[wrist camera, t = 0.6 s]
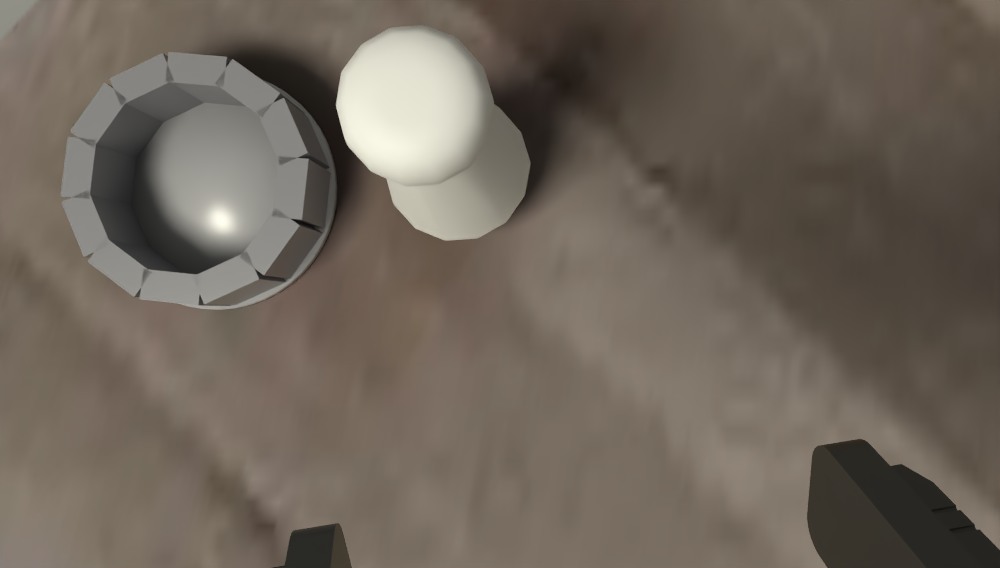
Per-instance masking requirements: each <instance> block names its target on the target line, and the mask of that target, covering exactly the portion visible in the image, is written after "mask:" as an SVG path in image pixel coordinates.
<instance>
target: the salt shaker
mask: <svg viewBox="0 0 1000 568" xmlns="http://www.w3.org/2000/svg"><path fill="white" fill-rule="evenodd" d="M336 108H337V112H338V116H339V120H340V123H341V127H342V131H343V135H344V138H345V141H346V143H347V146H348V147H349V148H350V149H351V150H352V151H353V152H354V153H355V154H356V156H357V157H358V158H359V159H360V160H361V161H362V162H363V163H364V164H365V165H366V167H367V168H368V169H369V170H370V171H372V172H374V173H375V174H377V175H380V176H382V177H385V178H387V182H388V186H389V189H390V193H391V197H392V201H393V204H394V205H395V206H396V207H397V209H398V210H399V211H400V212H401V213H402V214H403V215H404V216H405V218H406V219H407V220H408V221H409V222H410V223H411V224H412V225H413V226H414V228H416V229H418V230H421V231H423V232H425V233H428V234H430V235H433V236H435V237H438V238H440V239H442V240H461V239H476V238H479V237H481V236H483V235H484V234H486V233H488V232H490V231H492V230H493V229H495V228H497V227H499V226H501V225H502V224H504V223H506V222H507V221H508V219H509V218H510V216H511V215H512V213H513V212H514V210H515V209H516V208H517V206H518V205H519V203H520V202H521V200H522V199H523V198H524V196H525V192H526V186H527V181H528V175H529V170H530V164H531V162H530V159H529V156H528V153H527V150H526V146H525V143H524V140H523V137H522V134H521V132H520V131H519V129H518V128H517V127H516V126H515V125H514V124H513V123H512V121H511V120H510V119H509V118H508V117H507V116H506V115H505V113H504V112H503V111H502V110H501V109H500V108H499V107H498V106H496V105H495V104H494V100H493V96H492V93H491V90H490V86H489V83H488V80H487V77H486V73H485V70H484V67H483V66H482V65H481V64H480V63H479V62H478V61H477V60H476V58H475V57H474V56H473V55H472V54H471V53H470V52H469V51H468V49H467V48H466V47H465V46H464V45H463V44H462V43H461V42H460V41H459V40H458V39H457V38H456V37H454V36H452V35H449V34H446V33H444V32H441V31H438V30H436V29H433V28H430V27H428V26H425V25H419V26H405V27H390V28H389V29H387V30H385V31H384V32H382V33H380V34H379V35H377V36H375V37H373V38H372V39H370V40H368V41H367V42H365V43H363V44H362V45H361V46H360V47H359V48H358V50H357V51H356V53H355V54H354V55H353V57H352V58H351V60H350V61H349V62H348V64H347V65H346V66H345V68H344V69H343V71H342V72H341V77H340V83H339V89H338V95H337V101H336Z"/></svg>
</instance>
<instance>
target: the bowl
mask: <svg viewBox="0 0 1000 568" xmlns="http://www.w3.org/2000/svg"><path fill="white" fill-rule="evenodd" d="M109 79H110V81H111V84H112V86H111V85H109V84H107V83H104V84H103V86H102V87H101V88H100V90H99V91H98V93H97V94H96V95H95V97H94V98H93V100H92V101H91V102H90V104H89V105H88V107H87V108H86V109H85V111H84V112H83V114H82V115H81V116H80V118H79V119H78V121H77V122H76V123H75V125H74V126H73V128H72V129H71V130H70V132H72V133H73V134H74V135H76V136H77V137H78V138H75V137H68V139H67V147H66V156H65V164H64V172H63V180H62V189H61V196H62V197H66V198H69V199H67V200H65V201H63V202H61V203H62V205H63V207H64V210H65V212H66V215H67V217H68V220H69V222H70V224H71V227H72V229H73V232H74V234H75V237H76V239H77V241H78V244H79V246H80V249H81V251H82V254H83V256H84V257H89V258H90V259H89V260H88V262H89V263H90V264H91V265H93V266H94V267H95V268H97V269H98V270H99V271H100V272H102V273H103V274H104V275H106V276H107V277H108V278H110V279H111V280H112V281H114V282H115V283H116V284H118V285H119V286H120V287H122V288H123V289H124V290H126V291H127V292H128V293H129V294H131V295H132V296H133V297H140V299H142V300H152V301H161V302H171V303H179V304H183V305H186V306H189V307H195V308H201V309H221V310H224V309H234V308H241V307H245V306H249V305H254V304H256V303H259V302H261V301H264V300H267V299H269V298H271V297H273V296H274V295H276V294H278V293H280V292H282V291H283V290H284V289H286V288H287V287H289V286H290V285H291V284H293V283H294V282H295V281H296V280H297V279H298V278H299V277H300V276H301V275H303V274H304V273H305V272H306V270H307V269H308V268H309V267H310V265H311V264H312V263H313V262H314V261H315V259H316V257H317V256H318V254H319V253H320V251H321V249H322V248H323V246H324V244H325V242H326V239H327V237H328V235H329V233H330V230H331V227H332V223H333V220H334V216H335V210H336V205H337V188H338V187H337V175H336V168H335V164H334V159H333V155H332V153H331V150H330V147H329V144H328V142H327V140H326V138H325V136H324V134H323V132H322V130H321V128H320V127H319V126H318V124H317V123H316V121H315V120H314V118H313V117H312V116H311V115H310V114H309V113H308V112H307V110H306V109H305V108H304V107H303V106H302V105H301V104H300V103H298V102H297V101H296V100H295V99H293V98H292V97H291V96H290V95H289V94H287V93H286V92H285V91H283V90H281V89H280V88H278V87H277V86H275V85H273V84H271V83H269V82H266V81H264V80H262V79H260V78H258V77H257V76H256V75H254V74H253V73H251V72H250V71H249V70H247V69H246V68H245V67H243V66H242V65H240V64H239V63H238V62H236V61H235V60H233V59H232V60H230V59H229V58H228V57H224V56H211V55H199V54H187V53H175V52H169V53H168V56H166V55H165V54H163V53H162V54H160V55H158V56H156V57H153V58H151V59H149V60H147V61H145V62H143V63H141V64H139V65H137V66H135V67H132V68H130V69H128V70H126V71H124V72H122V73H120V74H118V75H116V76H114V77H112V78H109Z"/></svg>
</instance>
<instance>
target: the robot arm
mask: <svg viewBox="0 0 1000 568" xmlns="http://www.w3.org/2000/svg"><path fill="white" fill-rule="evenodd" d="M807 520H808V528H809V532H810V536H811V539H812V542H813V544H814V546H815V549H816V551H817V552H818V554H819V556H820V557H821V559H822V560H823V562H824V563H825V564H826V566H827V567H828V568H1000V550H999V549H998V548H997V547H996V546H995V545H994V544H993V543H992V542H991V541H990V540H989V539H988V538H987V537H986V536H985V535H984V534H983V533H982V532H981V531H980V530H976V529H975V525H974V524H973V523H972V522H971V520H970V519H969V518H968V517H967V516H966V515H965V514H964V513H963V512H962V511H961V510H959V511H958V510H957V509H956V505H955V504H954V503H953V502H952V501H951V500H950V499H949V498H948V497H947V496H946V495H945V494H944V493H943V492H942V491H941V490H940V489H939V488H938V487H937V486H936V485H935V484H934V483H933V482H932V481H930V480H928V479H926V478H925V477H923V476H921V475H919V474H918V473H916V472H914V471H912V470H911V469H909V468H907V467H905V466H904V465H902V464H900V465H894V466H890V465H889V464H888V463H887V462H886V461H885V460H884V459H883V458H882V457H881V456H880V455H879V454H878V453H877V451H876V450H875V449H874V448H873V447H872V446H871V445H870V444H869V443H868V442H866V441H865V440H862V439H857V440H851V441H845V442H839V443H833V444H827V445H821V446H817V447H816V448H815V449H814V451H813V455H812V465H811V477H810V489H809V501H808V513H807ZM274 568H352V567H351V563H350V559H349V555H348V551H347V547H346V543H345V539H344V535H343V532H342V529H341V526H340V525H339V524H338V523H337V524H331V525H325V526H318V527H312V528H306V529H300V530H294V531H293V532H292V533H291V536H290V541H289V546H288V551H287V556H286V562H285V566H280V567H274Z"/></svg>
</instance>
